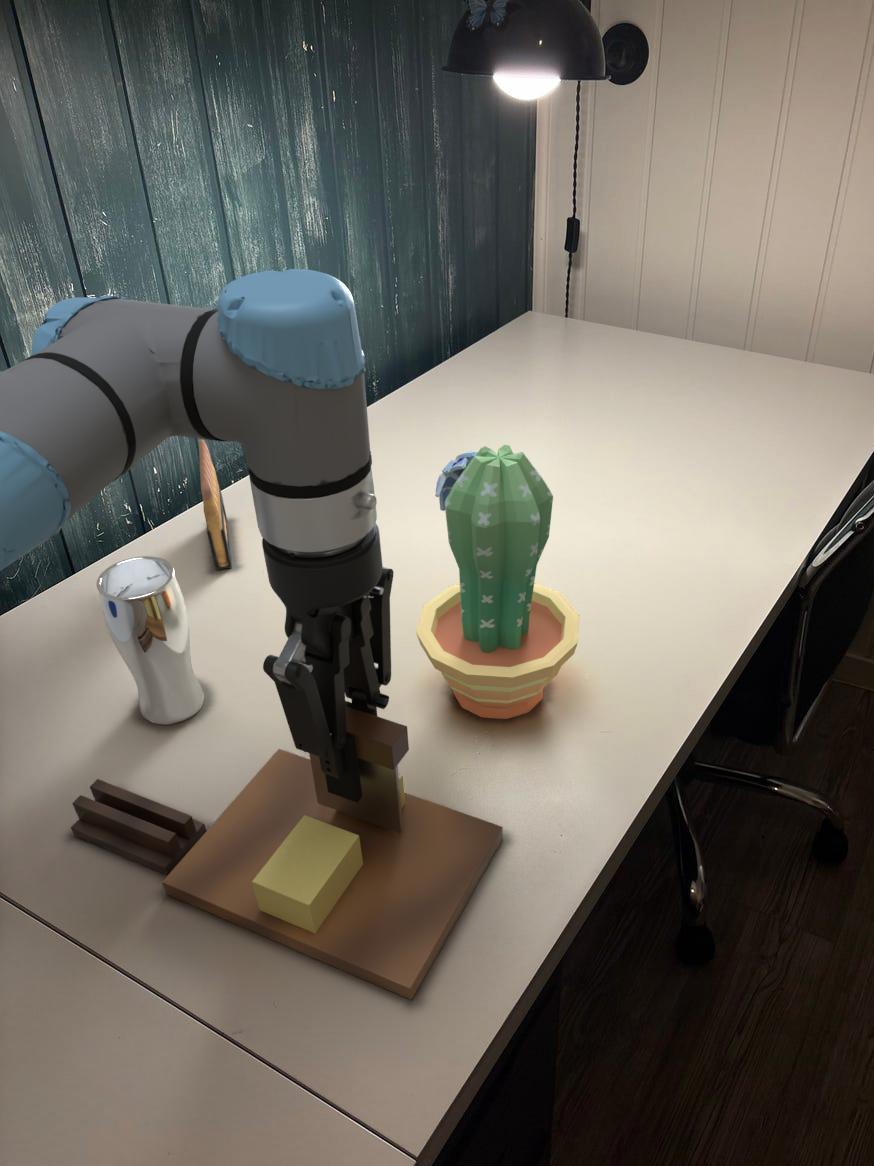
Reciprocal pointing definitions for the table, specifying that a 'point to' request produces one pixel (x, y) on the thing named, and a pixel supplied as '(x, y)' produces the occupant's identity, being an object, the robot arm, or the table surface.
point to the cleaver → (370, 771)
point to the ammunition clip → (214, 511)
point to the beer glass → (152, 636)
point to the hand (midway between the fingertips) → (355, 780)
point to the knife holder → (135, 826)
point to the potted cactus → (497, 588)
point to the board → (372, 899)
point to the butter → (308, 873)
